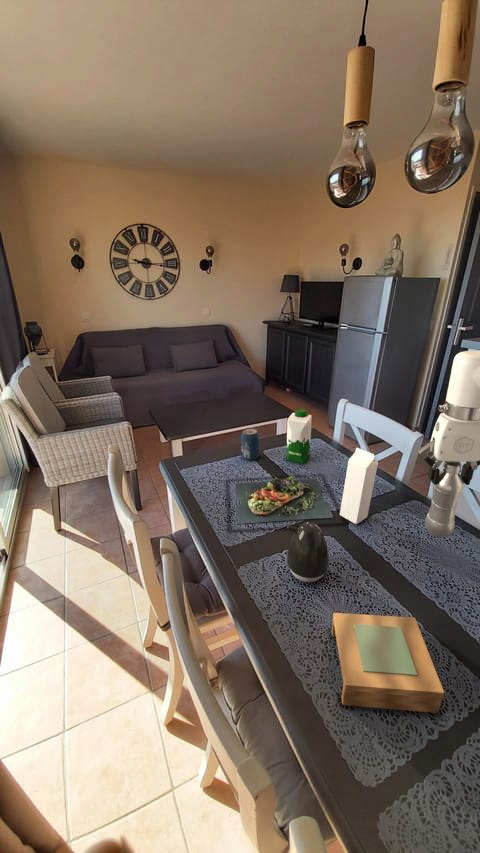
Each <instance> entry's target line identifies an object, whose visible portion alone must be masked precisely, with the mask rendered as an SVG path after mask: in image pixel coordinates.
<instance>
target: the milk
mask: <svg viewBox="0 0 480 853" xmlns="http://www.w3.org/2000/svg"><path fill="white" fill-rule="evenodd" d="M378 464H379V461H377V460H375V454H374V453H372V452H369V451H367V450H364V449H361V448H359V447H355V452H354V453H353V454H352V455H351V456H350V458H349V459H348V462H347V467H346V475H345V480H344V486H343V491H342V498H341V504H340V508H339V509H340V510H339V516H340V517H342V518H344V519H346V520H347V521H350V522H351V523H353V524H355V525H358V524H359V523H361V522H363V520H365V519H366V518H368V516H369V511H370V506H371V500H372V496H373V490H374V485H375V481H376V475H377V470H378Z"/></svg>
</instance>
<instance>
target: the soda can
mask: <svg viewBox="0 0 480 853" xmlns="http://www.w3.org/2000/svg"><path fill="white" fill-rule="evenodd" d="M240 437H241V442H240V443H241V457H242V459H243V460H245V461H249V462H250V461H255V460H257V459H258V458H259V456H260V434H259V432H258V430H257V429H256V428H253V427H247V428H244V429H242V433H241V436H240Z"/></svg>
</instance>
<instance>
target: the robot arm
mask: <svg viewBox="0 0 480 853" xmlns="http://www.w3.org/2000/svg"><path fill="white" fill-rule="evenodd" d="M437 411H438V412H441V413H440V414H439V416H438V418H437V420H436V422H435V425H434V427H433V430H432V434H431V438H430V441H429V442H428V443H426V444H425V445H423V446H422V447H420V449H418V450H417V453H418V455H419V456H420V457H421V458H422V459H423V460H424V461H425V462H426V463H427V464H428V466H429V468H428V473H427V478H428V479H429V481H430V482H431V483H432V485H433V484H434V485H436V484H437V483H438V478H439V473H440V471H441V469H439V467H440V466H441V465H442V464H443V463H444V461H448V462H461V463H462V462H463V464H462V466H461V472H460V475H461V477H462V479H463V481H464V485H465V486H469V485H470V484H471V481H472V480H473V477H474V473H475V471H476V470H477V469H478V467H479V466H480V350H465V351H460V352H458V353H457V354H456V355H455V356H454V358H453V361H452V366H451V372H450V376H449V382H448V387H447V391H446V397H445V400H444V402H443V404H439V405H437ZM429 453H432V455H431V456H430V455H429ZM464 462H465V463H464Z"/></svg>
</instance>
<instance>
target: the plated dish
mask: <svg viewBox="0 0 480 853" xmlns="http://www.w3.org/2000/svg"><path fill="white" fill-rule="evenodd" d="M234 486H235V497H236V498H238V499H239V500H240V504H239V505H238V507H236V524H237V525H248V524H250V525H251V524H264V523H268V524H269V523H280V522H282V523H283V522H296V521H298V522H299V521H313V520H331V519H334V515H333V513H332V511H331V508H330V506H329V503H328V502H326V501H324V500H323V499H322V498H321V494H322V492H323V490H322V488H321V486H320V483H319V481H318V479H317V478H305V479H304V478H303V479H297V476H288V477H286V478H284V477H282V479H281V478H279V477H277V476H275V477H274V478H273V479H271V480H268V481H267V480H265V481H250V482H248V481H247V482H236V483H234Z"/></svg>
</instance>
